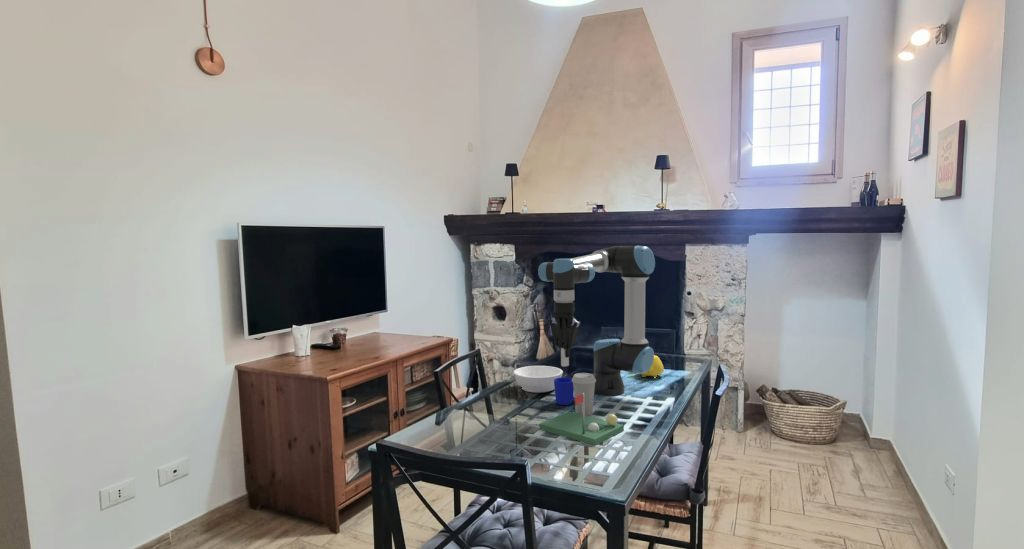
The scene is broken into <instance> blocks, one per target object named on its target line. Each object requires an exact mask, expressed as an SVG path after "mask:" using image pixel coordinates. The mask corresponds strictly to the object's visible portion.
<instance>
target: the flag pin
mask: <svg viewBox="0 0 1024 549" xmlns="http://www.w3.org/2000/svg"><path fill="white" fill-rule="evenodd" d="M580 403H582V434H585V401H584V393H582V394H581V395H578V396H576V397H575V400H574V406H575V405H577V404H580Z"/></svg>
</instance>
